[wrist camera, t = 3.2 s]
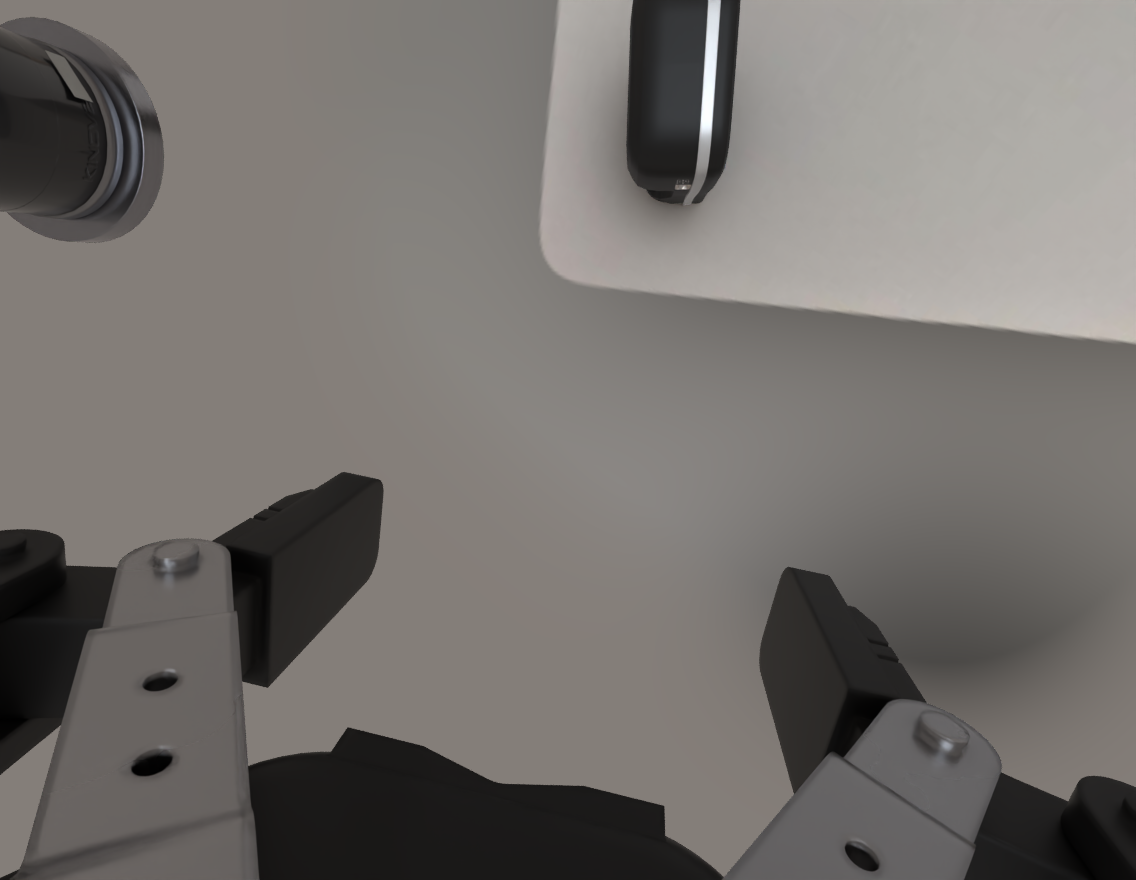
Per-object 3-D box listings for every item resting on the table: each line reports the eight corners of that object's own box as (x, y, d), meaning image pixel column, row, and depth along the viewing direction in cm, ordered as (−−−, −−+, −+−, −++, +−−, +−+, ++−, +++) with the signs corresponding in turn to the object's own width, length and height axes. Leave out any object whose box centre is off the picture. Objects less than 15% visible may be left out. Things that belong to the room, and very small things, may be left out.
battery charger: (636, 62, 31) (627, -56, 20) (712, 60, 30) (746, -63, 19) (630, 209, 32) (619, 175, 22) (703, 208, 32) (728, 174, 21)
